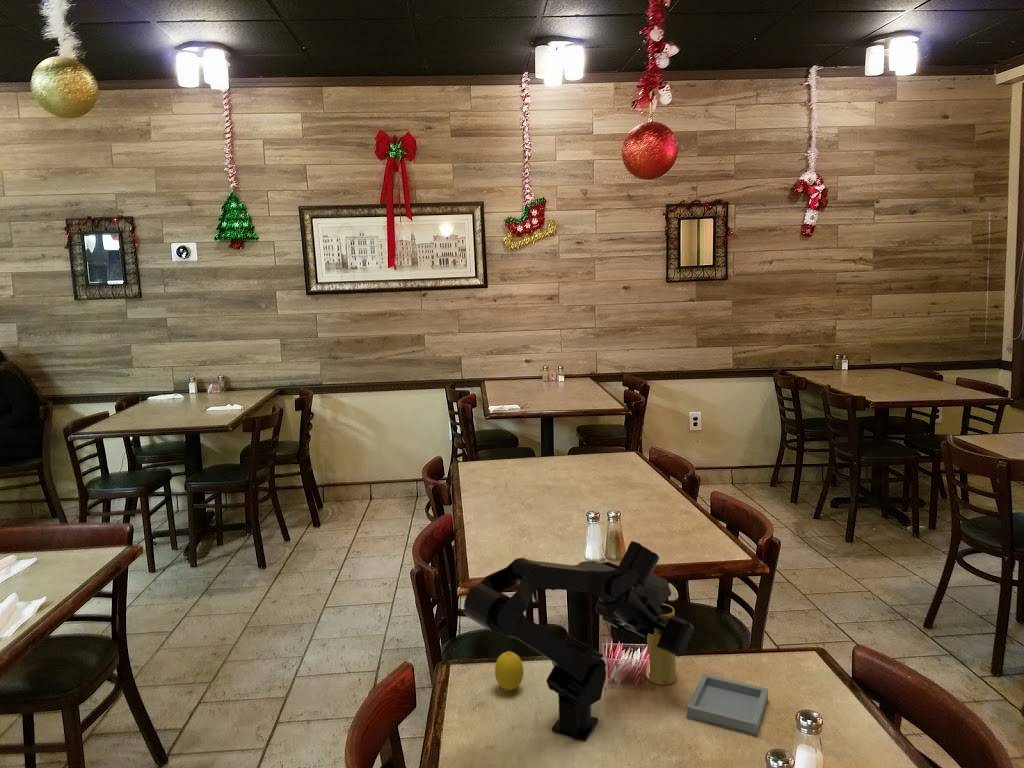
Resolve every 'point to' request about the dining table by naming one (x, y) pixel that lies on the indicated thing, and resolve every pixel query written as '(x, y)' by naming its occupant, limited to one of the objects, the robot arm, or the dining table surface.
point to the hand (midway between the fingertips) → (665, 640)
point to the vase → (661, 655)
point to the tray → (728, 704)
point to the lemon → (509, 670)
